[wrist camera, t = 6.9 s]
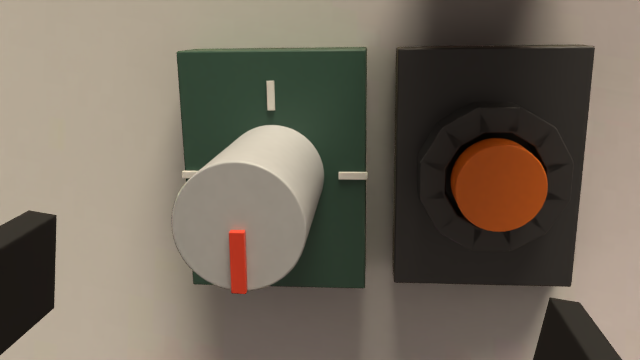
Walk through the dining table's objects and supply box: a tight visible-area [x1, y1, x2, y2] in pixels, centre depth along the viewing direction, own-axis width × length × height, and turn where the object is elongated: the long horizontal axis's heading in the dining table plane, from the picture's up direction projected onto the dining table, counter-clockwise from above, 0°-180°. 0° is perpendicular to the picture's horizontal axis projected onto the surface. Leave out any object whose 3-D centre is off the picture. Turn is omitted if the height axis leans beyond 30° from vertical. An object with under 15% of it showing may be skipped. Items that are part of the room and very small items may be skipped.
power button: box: [451, 138, 548, 232], centre depth 27 cm, size 4×4×2 cm
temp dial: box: [172, 125, 324, 294], centre depth 25 cm, size 5×5×8 cm
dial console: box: [177, 47, 367, 288], centre depth 31 cm, size 9×12×3 cm
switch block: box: [393, 45, 595, 287], centre depth 29 cm, size 9×12×4 cm
